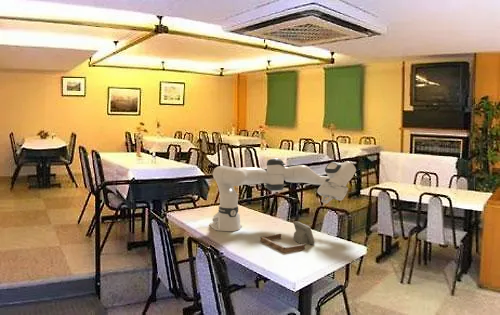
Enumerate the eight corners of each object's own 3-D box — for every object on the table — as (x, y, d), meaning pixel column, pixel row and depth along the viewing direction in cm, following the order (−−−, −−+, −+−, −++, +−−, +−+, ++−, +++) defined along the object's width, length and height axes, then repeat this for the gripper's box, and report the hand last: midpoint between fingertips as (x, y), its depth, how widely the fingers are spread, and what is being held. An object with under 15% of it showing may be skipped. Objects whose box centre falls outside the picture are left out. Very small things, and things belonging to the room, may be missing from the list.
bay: (260, 241, 257) (260, 236, 257) (279, 238, 264) (279, 233, 264) (284, 253, 237) (284, 248, 236) (304, 249, 244) (304, 244, 243)
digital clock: (315, 245, 251) (316, 226, 250) (300, 246, 249) (301, 227, 248) (305, 237, 267) (306, 219, 266) (291, 238, 265) (291, 220, 263)
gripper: (352, 190, 259) (338, 209, 255) (328, 185, 277) (315, 202, 273) (346, 183, 257) (333, 202, 253) (323, 178, 274) (310, 195, 270)
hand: (324, 202), depth 263 cm, fingers closed
